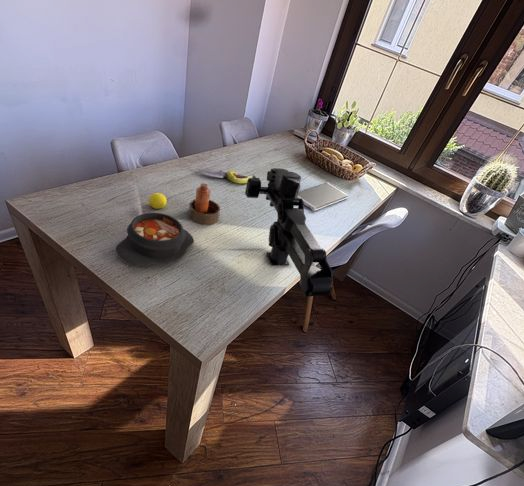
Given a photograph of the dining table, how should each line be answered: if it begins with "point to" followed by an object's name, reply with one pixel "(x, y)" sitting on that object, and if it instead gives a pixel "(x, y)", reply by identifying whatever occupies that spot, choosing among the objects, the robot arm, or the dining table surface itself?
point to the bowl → (207, 218)
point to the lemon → (157, 200)
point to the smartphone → (321, 196)
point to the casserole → (154, 240)
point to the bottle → (202, 199)
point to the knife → (228, 175)
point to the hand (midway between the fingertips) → (265, 177)
